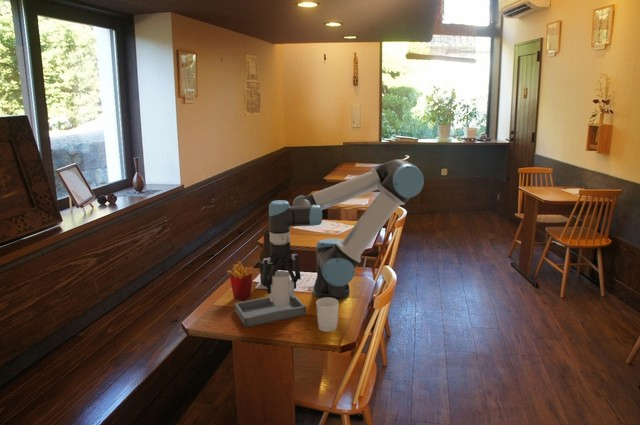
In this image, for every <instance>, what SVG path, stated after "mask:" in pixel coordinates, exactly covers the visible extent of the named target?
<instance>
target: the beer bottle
mask: <svg viewBox="0 0 640 425" xmlns="http://www.w3.org/2000/svg"><path fill="white" fill-rule="evenodd" d="M262 234H263V247H262V251H261V252H260V254H259V275H260V278H259V280H260V285H261V286H263V287H265V288H267V285H263V284H262V282H261V281H262V272H263V261H262V259H263V258H265V259H266V258H269V257H270V243H271V242H270V229H266V230H263V232H262ZM271 266H272V261H270V262H269V264H268V275H267V278H268V276H269V273H270V270H271ZM276 271H279V268H278V269H277V270H276Z"/></svg>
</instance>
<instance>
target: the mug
mask: <svg viewBox="0 0 640 425" xmlns="http://www.w3.org/2000/svg"><path fill="white" fill-rule="evenodd" d="M290 278H291V277H290V275H289V272H288V271H286V270H278V271H276V272H275V275H274V276H272V286H273V298H274V302H273V304H274V305H275V306H277V307H284V306H287V305H289V304H290V280H291V279H290Z"/></svg>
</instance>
